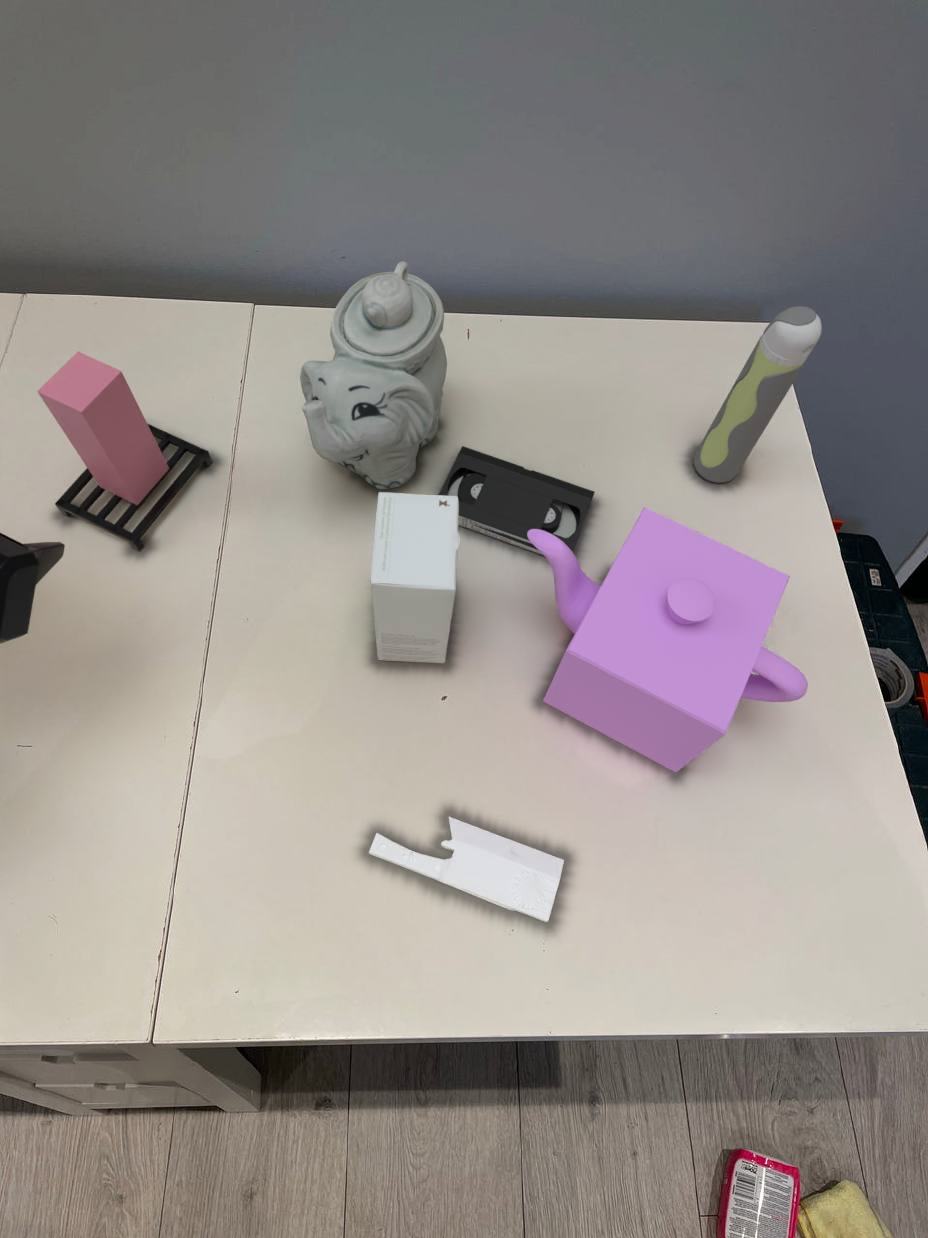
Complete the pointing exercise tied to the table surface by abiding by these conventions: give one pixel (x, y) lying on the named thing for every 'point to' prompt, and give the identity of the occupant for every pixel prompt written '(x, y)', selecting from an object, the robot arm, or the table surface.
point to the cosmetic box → (414, 575)
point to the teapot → (666, 639)
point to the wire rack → (156, 510)
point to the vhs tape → (514, 500)
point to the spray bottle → (757, 393)
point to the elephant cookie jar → (379, 378)
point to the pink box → (105, 426)
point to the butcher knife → (485, 868)
